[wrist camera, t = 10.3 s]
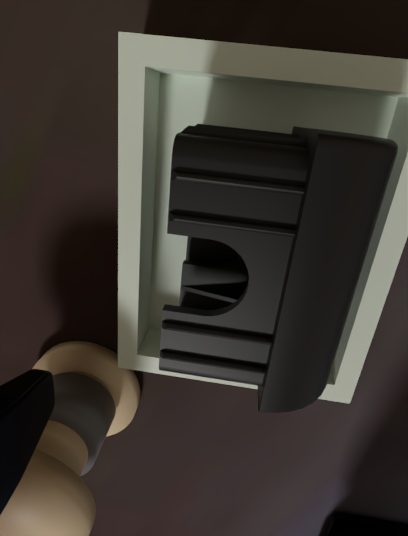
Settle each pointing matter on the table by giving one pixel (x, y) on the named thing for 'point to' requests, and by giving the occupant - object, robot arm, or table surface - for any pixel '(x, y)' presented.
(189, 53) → the tray
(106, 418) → the bobbin
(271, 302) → the end cap
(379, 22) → the table surface
